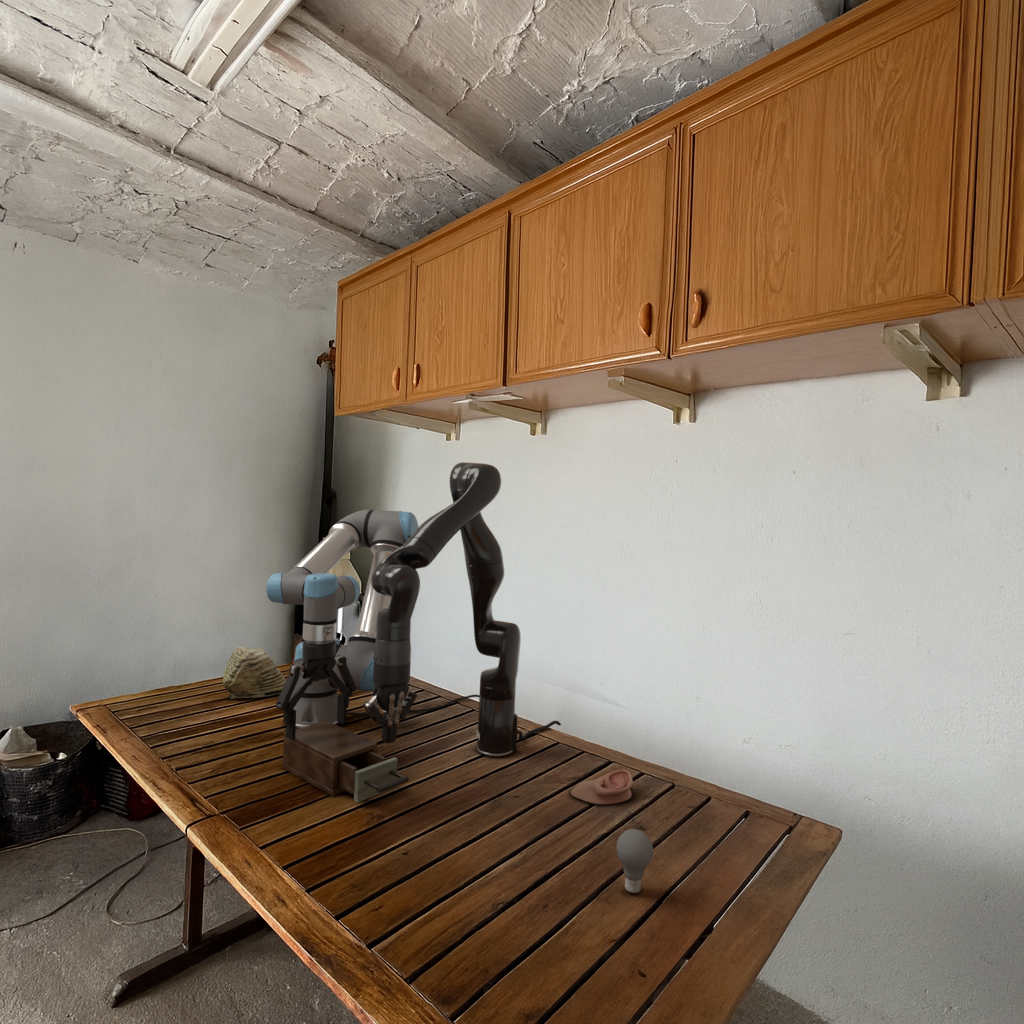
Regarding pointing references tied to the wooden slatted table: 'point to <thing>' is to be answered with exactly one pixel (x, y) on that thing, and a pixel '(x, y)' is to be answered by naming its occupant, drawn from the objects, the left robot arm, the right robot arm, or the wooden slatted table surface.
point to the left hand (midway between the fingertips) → (316, 729)
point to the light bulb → (634, 857)
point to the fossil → (252, 674)
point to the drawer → (368, 775)
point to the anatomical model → (605, 788)
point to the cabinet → (322, 753)
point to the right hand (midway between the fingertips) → (389, 741)
